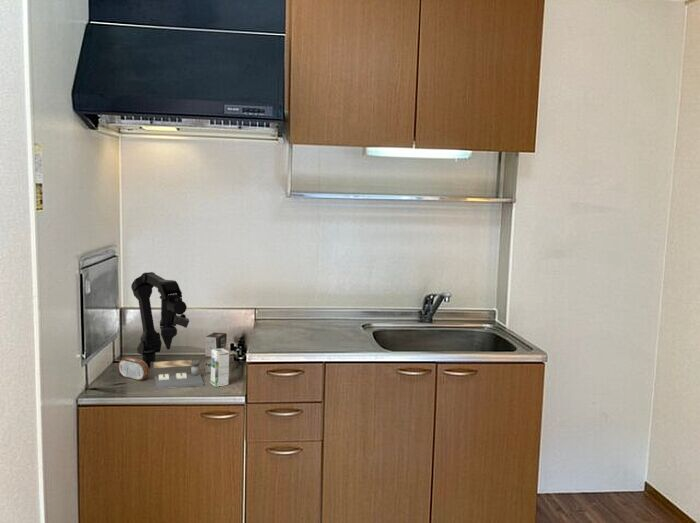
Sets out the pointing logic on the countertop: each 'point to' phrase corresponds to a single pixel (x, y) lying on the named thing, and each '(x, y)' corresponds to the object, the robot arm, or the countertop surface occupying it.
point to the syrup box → (219, 367)
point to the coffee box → (213, 347)
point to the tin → (133, 368)
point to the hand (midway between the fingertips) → (167, 346)
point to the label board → (179, 379)
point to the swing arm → (174, 363)
